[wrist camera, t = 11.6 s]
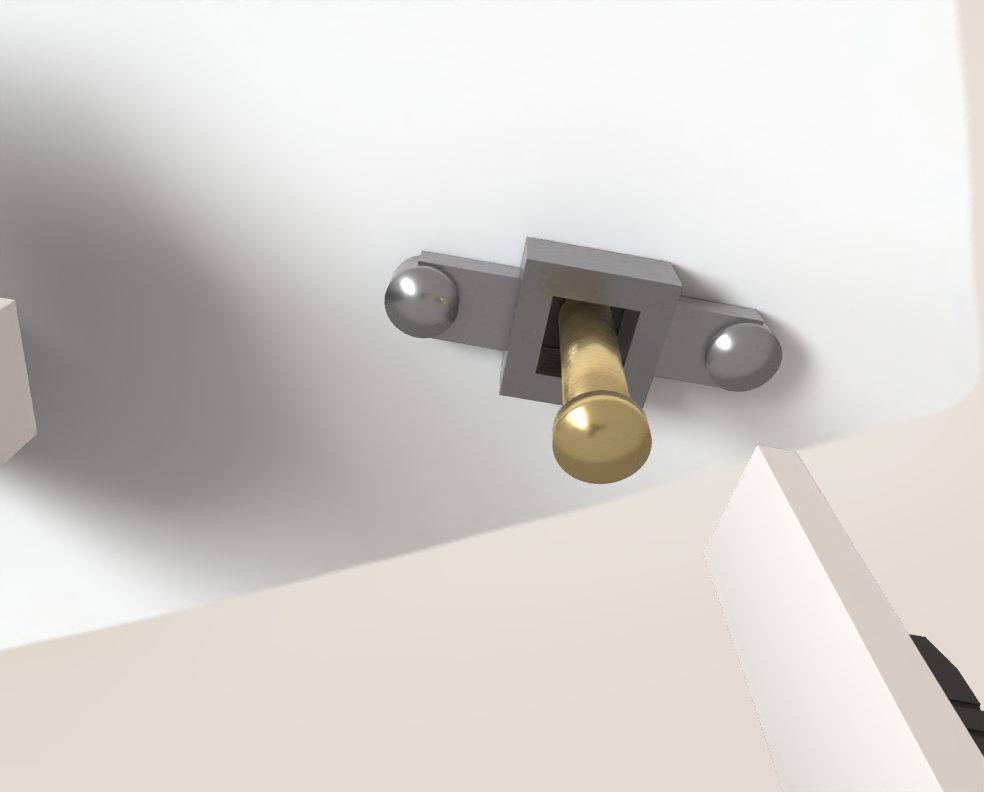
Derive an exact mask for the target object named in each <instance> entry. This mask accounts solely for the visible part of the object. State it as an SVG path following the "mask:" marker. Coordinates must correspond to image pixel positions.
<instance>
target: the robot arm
mask: <svg viewBox="0 0 984 792" xmlns="http://www.w3.org/2000/svg"><path fill="white" fill-rule="evenodd" d="M37 434H38V433H37V427H36V421H35V415H34V409H33V403H32V397H31V391H30V386H29V380H28V374H27V368H26V362H25V356H24V350H23V344H22V338H21V332H20V326H19V320H18V314H17V308H16V302H15V300H11V299H6V298H1V297H0V468H1V467H2V466H3V465H4V464H5V463H6V462H7V461H8V460H10V459H11V458H12V457H13V456H14V455H15V454H16V453H17V452H18V451H19V450H20V449H21V448H22V447H24V446H25V445H26V444H27V443H28V442H29V441H30V440H31V439H32V438H33V437H34V436H35V435H37ZM703 555H704V557H705V560H706V563H707V566H708V569H709V572H710V575H711V578H712V581H713V584H714V587H715V590H716V593H717V596H718V599H719V602H720V605H721V608H722V611H723V614H724V617H725V620H726V623H727V626H728V629H729V632H730V635H731V638H732V641H733V644H734V647H735V650H736V653H737V656H738V659H739V662H740V665H741V668H742V671H743V674H744V677H745V680H746V683H747V686H748V689H749V692H750V695H751V698H752V701H753V704H754V707H755V710H756V713H757V715H758V719H759V722H760V725H761V728H762V731H763V734H764V737H765V740H766V742H767V746H768V749H769V752H770V755H771V758H772V760H773V763H774V766H775V769H776V772H777V775H778V778H779V781H780V784H781V787H782V790H783V792H984V711H981V710H980V703H979V701H978V700H977V698H976V697H975V695H974V693H973V692H972V691H971V689H970V688H969V686H968V684H967V683H966V681H965V680H964V678H963V677H962V675H961V674H960V672H959V671H958V669H957V668H956V667H955V666H954V665H953V664H952V663H951V662H950V661H949V660H948V659H947V658H946V657H945V656H944V655H943V654H942V653H941V652H940V651H939V650H938V649H937V648H936V647H935V646H934V645H933V644H932V643H931V642H930V641H929V640H927V638H926V637H921V636H916V635H910V634H908V633H907V631H906V629H905V628H904V626H903V625H902V623H901V621H900V620H899V618H898V616H897V615H896V613H895V612H894V610H893V608H892V607H891V605H890V603H889V602H888V600H887V598H886V597H885V595H884V594H883V592H882V590H881V589H880V587H879V586H878V584H877V582H876V580H875V579H874V577H873V576H872V574H871V572H870V571H869V569H868V568H867V566H866V564H865V562H864V561H863V559H862V558H861V556H860V554H859V553H858V551H857V550H856V548H855V546H854V545H853V543H852V541H851V540H850V538H849V536H848V535H847V533H846V531H845V530H844V528H843V527H842V525H841V523H840V522H839V520H838V518H837V517H836V515H835V513H834V512H833V511H832V509H831V507H830V505H829V504H828V502H827V500H826V499H825V497H824V496H823V494H822V492H821V491H820V489H819V488H818V486H817V484H816V482H815V481H814V480H813V478H812V476H811V475H810V473H809V471H808V470H807V468H806V466H805V465H804V463H803V461H802V460H801V458H800V456H799V455H798V453H797V452H793V451H788V450H783V449H778V448H772V447H767V446H762V445H757V447H756V449H755V451H754V453H753V455H752V457H751V459H750V461H749V463H748V465H747V467H746V469H745V471H744V473H743V475H742V477H741V479H740V481H739V483H738V485H737V486H736V488H735V490H734V493H733V494H732V496H731V498H730V501H729V502H728V504H727V507H726V508H725V510H724V513H723V514H722V516H721V518H720V520H719V522H718V525H717V526H716V528H715V530H714V532H713V534H712V536H711V538H710V540H709V542H708V544H707V546H706V548H705V550H704V552H703Z"/></svg>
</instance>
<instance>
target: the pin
mask: <svg viewBox="0 0 984 792" xmlns="http://www.w3.org/2000/svg"><path fill="white" fill-rule="evenodd" d="M559 337H560V357H561V377H562V398H563V407H562V408H561V409H560V410H559V412H558V413H557V415H556V417H555V420H554V423H553V428H552V438H553V452H554V455H555V458H556V460H557V462H558V464H559V465H560V467H561V468H562V469H563V470H564V471H565V472H567V473H568V474H569V475H571V476H572V477H574V478H576V479H578V480H581V481H584V482H588V483H594V484H607V483H613V482H617V481H620V480H623V479H625V478H627V477H629V476H631V475H632V474H634V473H635V472H636V471H638V470H639V469H640V468H641V467H642V466H643V464H644V463H645V462H646V460H647V458H648V456H649V454H650V450H651V444H652V439H651V433H650V429H649V425H648V421H647V418H646V415H645V413H644V411H643V410H642V408H641V407H640V406H639V405H638V404H637V403H636V402H635V401H634V400H633V399H631V398H630V396H629V392H628V387H627V383H626V378H625V373H624V369H623V364H622V360H621V355H620V351H619V346H618V341H617V337H616V332H615V328H614V323H613V319H612V314H611V310H610V307H609V306H608V305H602V304H596V303H590V302H585V301H579V300H573V299H567V300H566V301H565V302H564V303H563V305H562V306H561V308H560V311H559Z"/></svg>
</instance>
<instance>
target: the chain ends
mask: <svg viewBox="0 0 984 792" xmlns="http://www.w3.org/2000/svg"><path fill="white" fill-rule="evenodd" d="M682 289H683V285H682V283H681V281H680V279H679V277H678V275H677V274H676V272H675V270H674V268H673V266H672V264H671V262H665V261H659V260H654V259H648V258H643V257H637V256H631V255H626V254H620V253H615V252H609V251H603V250H598V249H592V248H587V247H581V246H575V245H570V244H564V243H559V242H553V241H547V240H542V239H536V238H530V237H527V238H526V243H525V248H524V253H523V258H522V263H521V268H517V267H511V266H506V265H500V264H494V263H489V262H483V261H477V260H472V259H466V258H460V257H455V256H449V255H443V254H438V253H432V252H426V251H422V253H421V255H420V256H415V257H412V258H410V259H408V260H406V261H404V262H403V263H402V264H401V265H400V266H399V267H398V268H397V270H396V271H395V273H394V275H393V278H392V280H391V282H390V284H389V286H388V288H387V291H386V294H385V309H386V312H387V315H388V317H389V318H390V320H391V322H392V323H393V324H394V325H395V326H396V327H397V328H398V329H399V330H401V331H402V332H404V333H406V334H408V335H410V336H413V337H417V338H433V339H439V340H445V341H451V342H457V343H463V344H468V345H474V346H480V347H486V348H492V349H498V350H504V354H503V359H502V364H501V377H500V391H499V395H504V396H510V397H516V398H522V399H528V400H534V401H540V402H546V403H552V404H558V405H563V398H562V377H561V357H560V349H556V348H550V347H544V346H542V342H543V338H544V333H545V329H546V325H547V320H548V316H549V312H550V307H551V303H552V299H553V296H556V297H562V298H568V299H573V300H579V301H585V302H590V303H596V304H602V305H608V306H613V307H619V308H625V311H624V315H623V318H622V322H621V325H620V328H619V332H618V335H617V341H618V346H619V351H620V355H621V360H622V364H623V369H624V373H625V378H626V383H627V387H628V392H629V396H630V398H631V399H633V400H634V401H635V402H636V403H637V404H638V405H639V406H640V407H641V408H642V409H643V406H644V403H645V400H646V397H647V394H648V391H649V388H650V385H651V382H652V379H653V376H657V377H662V378H668V379H674V380H680V381H686V382H692V383H698V384H704V385H710V386H715V387H721V388H724V389H726V390H730V391H747V390H751V389H754V388H757V387H759V386H761V385H763V384H764V383H766V382H767V381H768V380H769V379H770V378H772V376H773V375H774V374H775V373H776V371H777V370H778V368H779V366H780V363H781V359H782V350H781V346H780V344H779V342H778V340H777V339H776V337H775V336H774V334H773V333H772V332H771V330H770V329H769V327H768V326H767V325H766V323H765V322H764V320H763V319H762V317H761V316H760V314H759V313H758V312H757V310H756V309H750V308H744V307H739V306H733V305H727V304H721V303H716V302H710V301H704V300H699V299H693V298H687V297H682V296H680V295H681V292H682Z"/></svg>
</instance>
